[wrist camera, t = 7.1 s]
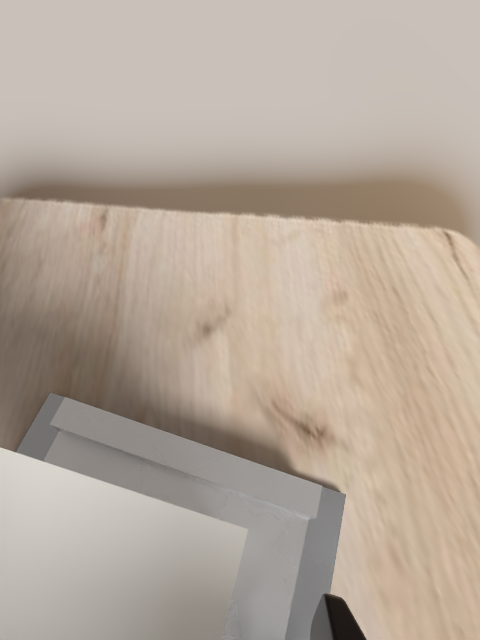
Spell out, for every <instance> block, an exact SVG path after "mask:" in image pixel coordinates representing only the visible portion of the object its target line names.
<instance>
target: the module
mask: <svg viewBox="0 0 480 640" xmlns="http://www.w3.org/2000/svg"><path fill="white" fill-rule="evenodd" d="M247 533H248V529H246V528H243V527H240V526H237V525H234V524H231V523H228V522H225V521H222V520H219V519H216V518H213V517H210V516H207V515H203V514H200V513H197V512H194V511H191V510H188V509H185V508H182V507H179V506H176V505H173V504H170V503H167V502H164V501H161V500H158V499H155V498H152V497H149V496H146V495H143V494H140V493H137V492H134V491H131V490H128V489H125V488H122V487H119V486H116V485H113V484H110V483H107V482H104V481H101V480H98V479H95V478H92V477H88V476H85V475H82V474H79V473H76V472H73V471H70V470H67V469H64V468H61V467H58V466H55V465H52V464H49V463H46V462H43V461H40V460H37V459H34V458H31V457H28V456H25V455H22V454H19V453H16V452H13V451H10V450H7V449H4V448H1V447H0V640H221V639H222V635H223V630H224V626H225V622H226V618H227V614H228V610H229V606H230V602H231V598H232V594H233V590H234V586H235V582H236V577H237V573H238V569H239V565H240V561H241V557H242V553H243V549H244V545H245V541H246V537H247Z"/></svg>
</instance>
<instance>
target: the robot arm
mask: <svg viewBox="0 0 480 640" xmlns="http://www.w3.org/2000/svg"><path fill="white" fill-rule="evenodd" d="M310 640H367V639H366V638H365V636H364V634H363V632H362V631H361V629H360V627H359V625H358V623H357V622H356V620H355V618H354V616H353V615H352V613H351V611H350V609H349V607H348V606H347V604H346V602H345V601H344V600H343V599H342V598H341V597H338V596H335V595H331V594H327V593H325V594H323V595H322V597H321V599H320V601H319V604H318V607H317V609H316V612H315V614H314V617H313V620H312V624H311V630H310Z"/></svg>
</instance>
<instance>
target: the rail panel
mask: <svg viewBox="0 0 480 640" xmlns="http://www.w3.org/2000/svg"><path fill="white" fill-rule="evenodd" d="M16 453H19V454H22V455H25V456H28V457H31V458H34V459H37V460H40V461H43V462H46V463H49V464H52V465H55V466H58V467H61V468H64V469H67V470H70V471H73V472H76V473H79V474H82V475H85V476H88V477H92V478H95V479H98V480H101V481H104V482H107V483H110V484H113V485H116V486H119V487H122V488H125V489H128V490H131V491H134V492H137V493H140V494H143V495H146V496H149V497H152V498H155V499H158V500H161V501H164V502H167V503H170V504H173V505H176V506H179V507H182V508H185V509H188V510H191V511H194V512H197V513H200V514H203V515H207V516H210V517H213V518H216V519H219V520H222V521H225V522H228V523H231V524H234V525H237V526H240V527H243V528H246V529H248V533H247V537H246V541H245V545H244V549H243V553H242V557H241V561H240V565H239V569H238V573H237V577H236V582H235V586H234V590H233V594H232V598H231V602H230V606H229V610H228V614H227V618H226V622H225V626H224V630H223V635H222V639H221V640H310V630H311V624H312V620H313V617H314V614H315V612H316V609H317V607H318V604H319V601H320V599H321V597H322V595H323V594H325V593H327V594H330V590H331V583H332V577H333V571H334V565H335V559H336V553H337V547H338V540H339V534H340V528H341V522H342V516H343V510H344V504H345V498H346V494H343V493H340V492H337V491H334V490H331V489H328V488H325V487H322V485H319V484H316V483H313V482H310V481H307V480H304V479H301V478H299V477H296V476H293V475H290V474H287V473H284V472H281V471H278V470H275V469H273V468H270V467H267V466H264V465H261V464H258V463H255V462H252V461H249V460H247V459H244V458H241V457H238V456H235V455H232V454H229V453H226V452H223V451H221V450H218V449H215V448H212V447H209V446H206V445H203V444H200V443H197V442H194V441H192V440H189V439H186V438H183V437H180V436H177V435H174V434H171V433H168V432H166V431H163V430H160V429H157V428H154V427H151V426H148V425H145V424H142V423H140V422H137V421H134V420H131V419H128V418H125V417H122V416H119V415H116V414H114V413H111V412H108V411H105V410H102V409H99V408H96V407H93V406H90V405H88V404H85V403H82V402H79V401H76V400H73V399H70V398H67V397H62V396H60V395H57V394H54V393H51V392H50V394H49V395H48V397H47V399H46V401H45V402H44V404H43V406H42V407H41V409H40V411H39V413H38V414H37V416H36V418H35V419H34V421H33V423H32V425H31V426H30V428H29V430H28V431H27V433H26V435H25V437H24V438H23V440H22V442H21V444H20V445H19V447H18V449H17V450H16Z"/></svg>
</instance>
